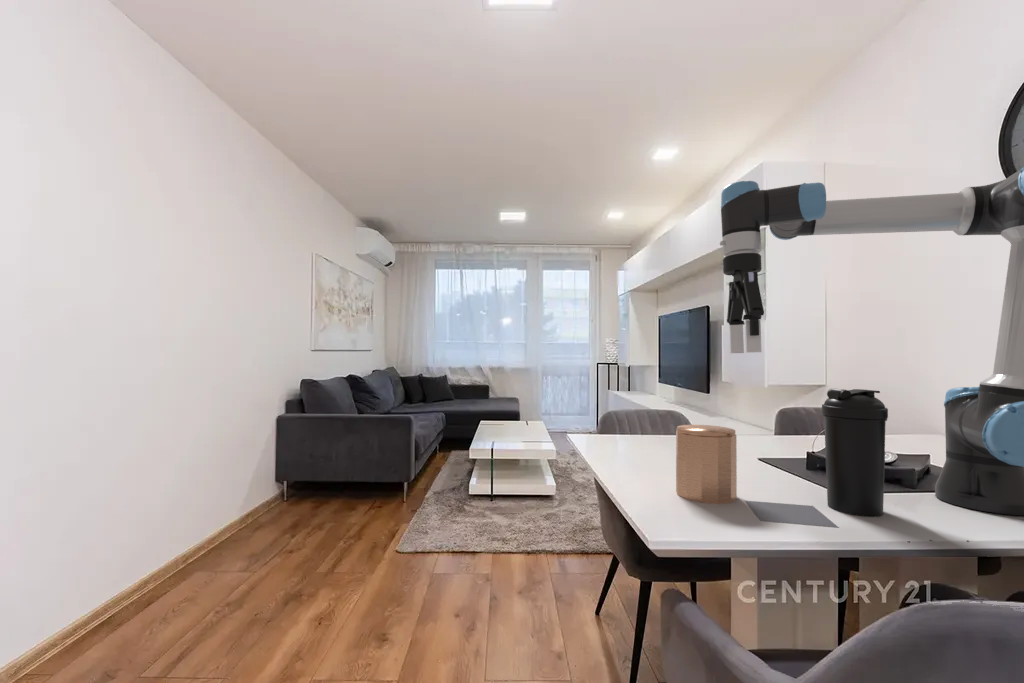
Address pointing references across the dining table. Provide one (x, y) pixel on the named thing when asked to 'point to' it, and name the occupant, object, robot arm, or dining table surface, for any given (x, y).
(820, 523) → the mat
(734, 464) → the copper oval canister
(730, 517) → the dining table surface
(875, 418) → the water bottle
